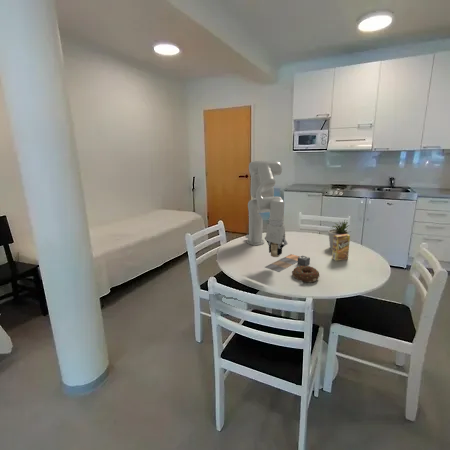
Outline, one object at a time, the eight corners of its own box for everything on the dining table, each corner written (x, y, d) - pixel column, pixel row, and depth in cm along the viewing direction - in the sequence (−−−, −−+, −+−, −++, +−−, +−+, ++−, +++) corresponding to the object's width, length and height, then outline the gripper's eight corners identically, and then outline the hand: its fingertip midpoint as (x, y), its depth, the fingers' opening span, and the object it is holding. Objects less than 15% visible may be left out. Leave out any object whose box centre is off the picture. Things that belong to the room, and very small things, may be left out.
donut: (296, 270, 165) (297, 262, 163) (321, 275, 158) (322, 267, 157) (288, 280, 153) (288, 272, 152) (314, 286, 146) (315, 277, 145)
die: (297, 265, 171) (297, 257, 170) (301, 263, 175) (302, 255, 173) (305, 268, 168) (305, 259, 166) (309, 265, 171) (310, 257, 170)
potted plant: (342, 253, 189) (345, 223, 184) (323, 248, 199) (325, 219, 194) (352, 249, 196) (355, 220, 191) (333, 244, 207) (336, 216, 202)
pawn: (268, 255, 165) (269, 237, 162) (274, 253, 169) (274, 235, 166) (276, 257, 162) (277, 239, 159) (281, 255, 165) (282, 237, 162)
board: (264, 268, 168) (264, 267, 167) (291, 255, 187) (291, 254, 187) (278, 273, 161) (278, 272, 161) (305, 259, 180) (305, 258, 180)
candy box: (335, 261, 177) (338, 236, 173) (331, 258, 181) (333, 234, 177) (348, 259, 179) (350, 235, 175) (343, 256, 183) (345, 233, 179)
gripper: (259, 220, 163) (259, 251, 168) (285, 226, 151) (284, 259, 157) (267, 218, 168) (267, 247, 173) (293, 223, 156) (292, 255, 162)
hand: (275, 253), depth 165 cm, fingers closed on pawn, 4 cm apart
